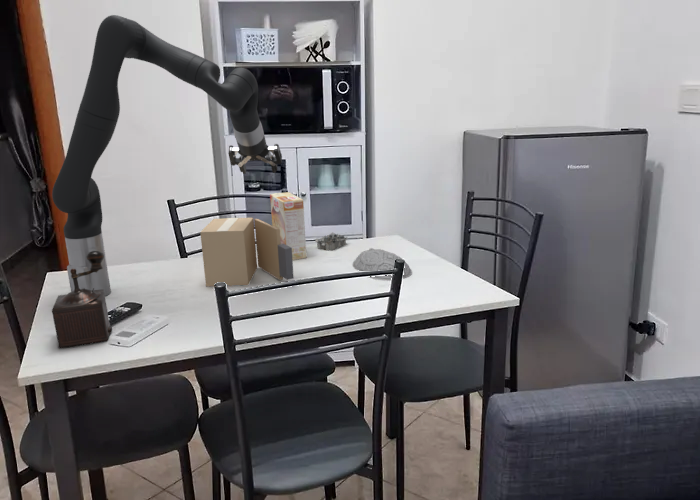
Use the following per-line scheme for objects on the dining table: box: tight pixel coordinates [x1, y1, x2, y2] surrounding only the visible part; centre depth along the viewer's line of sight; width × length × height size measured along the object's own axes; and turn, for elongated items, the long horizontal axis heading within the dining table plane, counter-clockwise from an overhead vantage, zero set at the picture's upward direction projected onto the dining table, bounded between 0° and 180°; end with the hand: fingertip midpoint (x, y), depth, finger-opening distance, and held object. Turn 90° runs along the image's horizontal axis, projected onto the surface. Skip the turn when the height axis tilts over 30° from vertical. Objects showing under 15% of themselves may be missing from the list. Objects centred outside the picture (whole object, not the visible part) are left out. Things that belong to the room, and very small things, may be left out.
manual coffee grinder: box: [51, 251, 113, 349], centre depth 136 cm, size 16×11×18 cm
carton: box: [199, 217, 258, 288], centre depth 172 cm, size 16×12×16 cm
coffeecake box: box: [269, 191, 307, 261], centre depth 193 cm, size 15×7×20 cm, turn 23°
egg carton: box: [314, 232, 348, 251], centre depth 202 cm, size 11×8×4 cm
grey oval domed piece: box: [352, 247, 413, 282], centre depth 177 cm, size 16×25×7 cm, turn 29°
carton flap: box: [253, 218, 295, 281], centre depth 171 cm, size 21×2×15 cm, turn 31°
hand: (259, 170), depth 169 cm, fingers open, 8 cm apart
